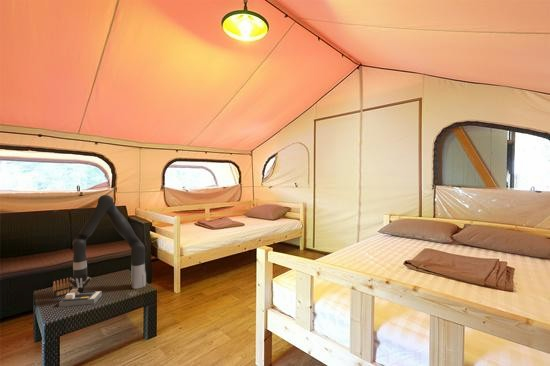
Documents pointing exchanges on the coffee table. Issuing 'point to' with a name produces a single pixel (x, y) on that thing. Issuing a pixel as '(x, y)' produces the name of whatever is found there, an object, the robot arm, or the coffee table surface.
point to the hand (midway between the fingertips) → (81, 292)
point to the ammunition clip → (61, 288)
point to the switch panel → (82, 298)
